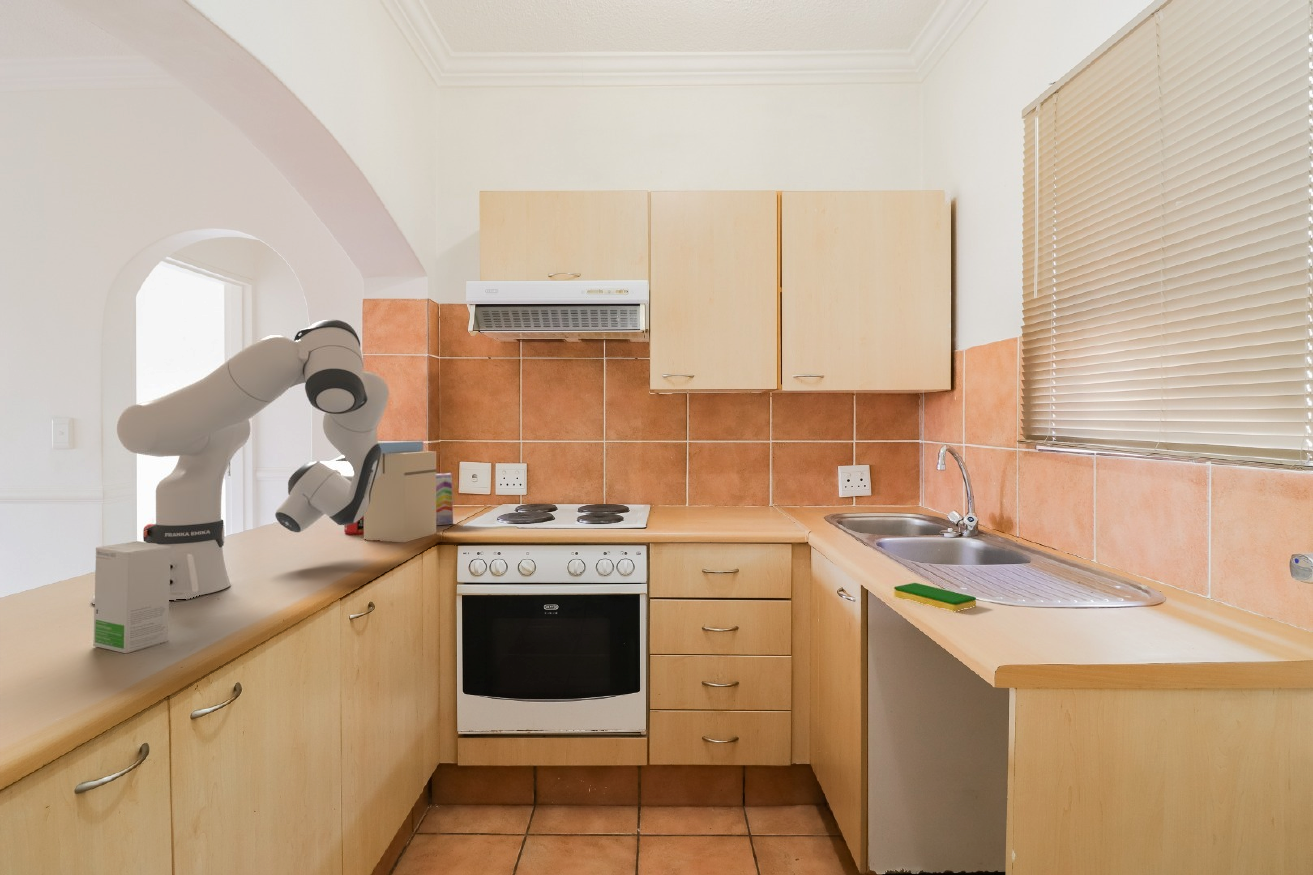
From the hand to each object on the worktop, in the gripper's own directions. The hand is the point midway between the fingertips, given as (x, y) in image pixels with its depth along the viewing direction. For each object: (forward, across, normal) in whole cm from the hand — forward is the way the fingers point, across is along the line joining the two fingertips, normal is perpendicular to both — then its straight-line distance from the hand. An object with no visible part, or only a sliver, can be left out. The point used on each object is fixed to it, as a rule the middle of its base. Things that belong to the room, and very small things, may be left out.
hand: (360, 457), depth 183 cm
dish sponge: (-26, -147, +15) cm, 150 cm away
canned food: (+4, +17, +32) cm, 37 cm away
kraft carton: (+3, 0, +31) cm, 31 cm away
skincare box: (-80, -21, -17) cm, 84 cm away
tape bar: (+13, 0, +6) cm, 14 cm away
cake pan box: (+21, +7, +42) cm, 47 cm away
